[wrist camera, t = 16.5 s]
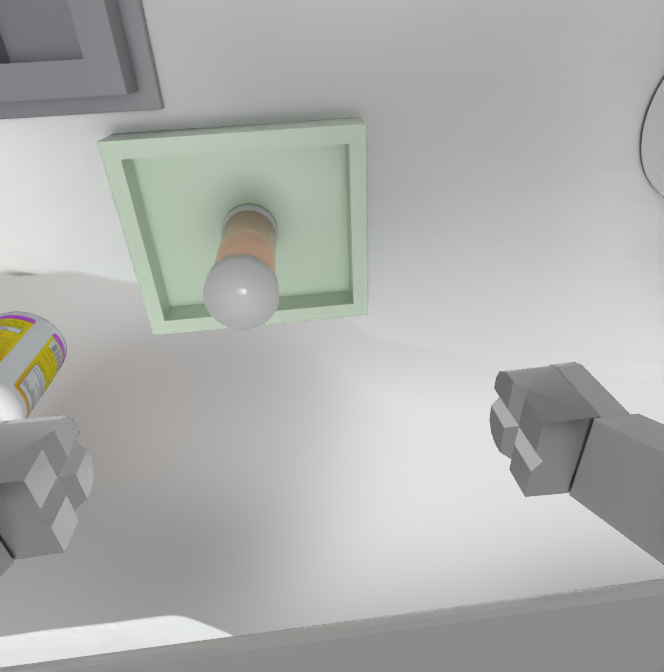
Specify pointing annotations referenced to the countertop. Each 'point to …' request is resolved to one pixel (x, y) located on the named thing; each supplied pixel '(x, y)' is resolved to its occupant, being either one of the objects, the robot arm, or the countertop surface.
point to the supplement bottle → (27, 362)
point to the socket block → (75, 58)
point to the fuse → (244, 270)
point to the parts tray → (235, 189)
